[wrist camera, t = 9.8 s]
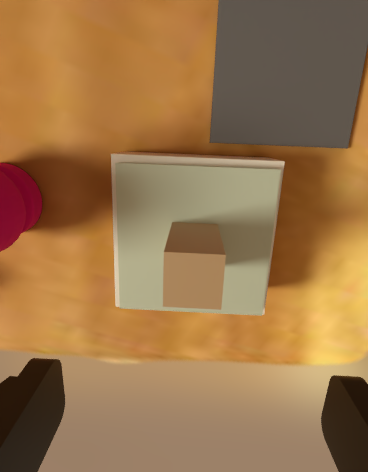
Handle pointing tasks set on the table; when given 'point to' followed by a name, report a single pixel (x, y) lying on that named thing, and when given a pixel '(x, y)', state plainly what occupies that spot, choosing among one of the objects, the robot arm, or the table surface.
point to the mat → (288, 71)
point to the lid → (194, 236)
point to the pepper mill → (17, 203)
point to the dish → (188, 160)
